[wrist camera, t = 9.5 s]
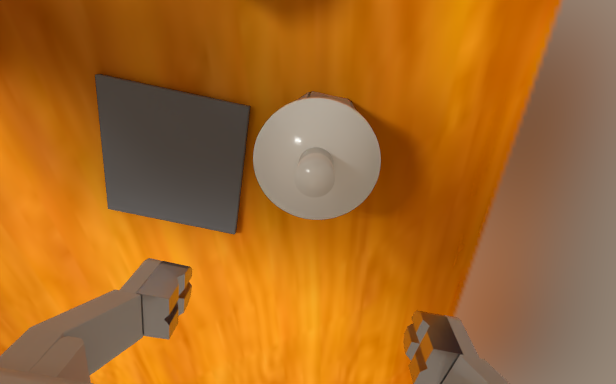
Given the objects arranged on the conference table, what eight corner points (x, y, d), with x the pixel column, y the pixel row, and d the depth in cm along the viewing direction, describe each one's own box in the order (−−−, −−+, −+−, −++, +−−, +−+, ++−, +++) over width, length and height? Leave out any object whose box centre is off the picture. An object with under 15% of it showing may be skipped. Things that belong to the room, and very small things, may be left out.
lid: (250, 202, 27) (237, 226, 24) (263, 84, 23) (250, 91, 19) (361, 223, 27) (365, 250, 24) (395, 111, 23) (407, 123, 19)
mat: (111, 206, 34) (108, 208, 34) (99, 73, 28) (94, 74, 28) (236, 231, 35) (234, 234, 34) (250, 106, 29) (248, 107, 28)
